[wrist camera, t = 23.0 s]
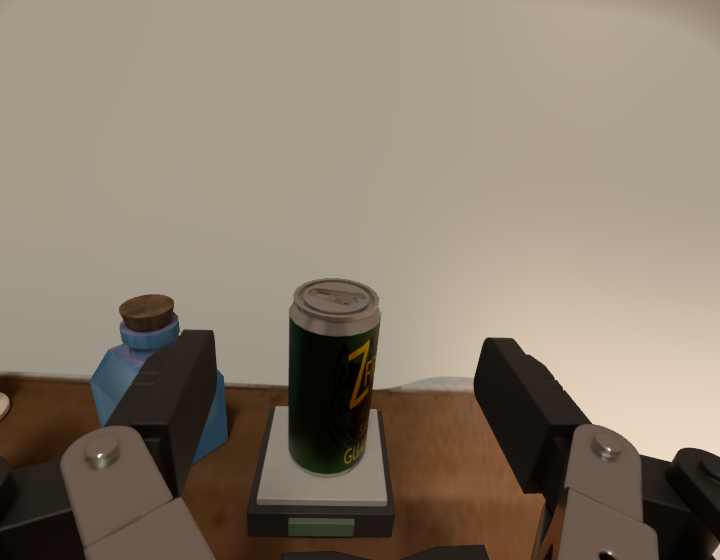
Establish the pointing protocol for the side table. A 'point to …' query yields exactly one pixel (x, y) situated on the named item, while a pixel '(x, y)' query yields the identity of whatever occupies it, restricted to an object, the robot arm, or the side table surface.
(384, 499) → the kitchen scale
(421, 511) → the side table surface
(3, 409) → the candle
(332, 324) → the beer can
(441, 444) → the side table surface
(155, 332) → the perfume bottle
